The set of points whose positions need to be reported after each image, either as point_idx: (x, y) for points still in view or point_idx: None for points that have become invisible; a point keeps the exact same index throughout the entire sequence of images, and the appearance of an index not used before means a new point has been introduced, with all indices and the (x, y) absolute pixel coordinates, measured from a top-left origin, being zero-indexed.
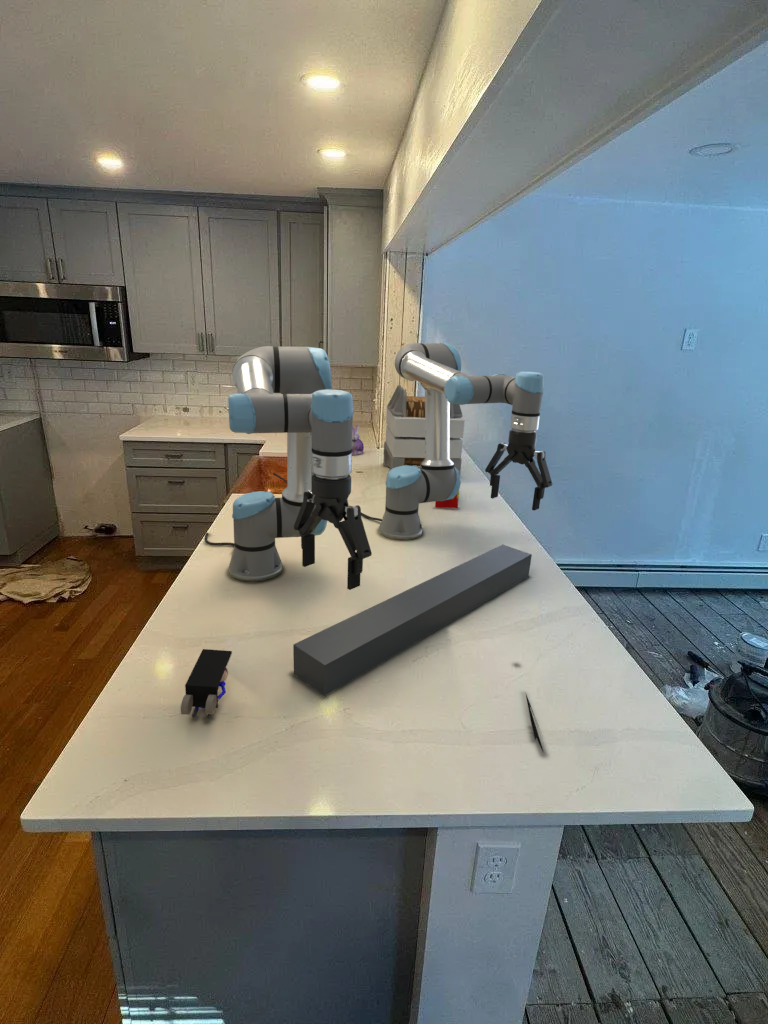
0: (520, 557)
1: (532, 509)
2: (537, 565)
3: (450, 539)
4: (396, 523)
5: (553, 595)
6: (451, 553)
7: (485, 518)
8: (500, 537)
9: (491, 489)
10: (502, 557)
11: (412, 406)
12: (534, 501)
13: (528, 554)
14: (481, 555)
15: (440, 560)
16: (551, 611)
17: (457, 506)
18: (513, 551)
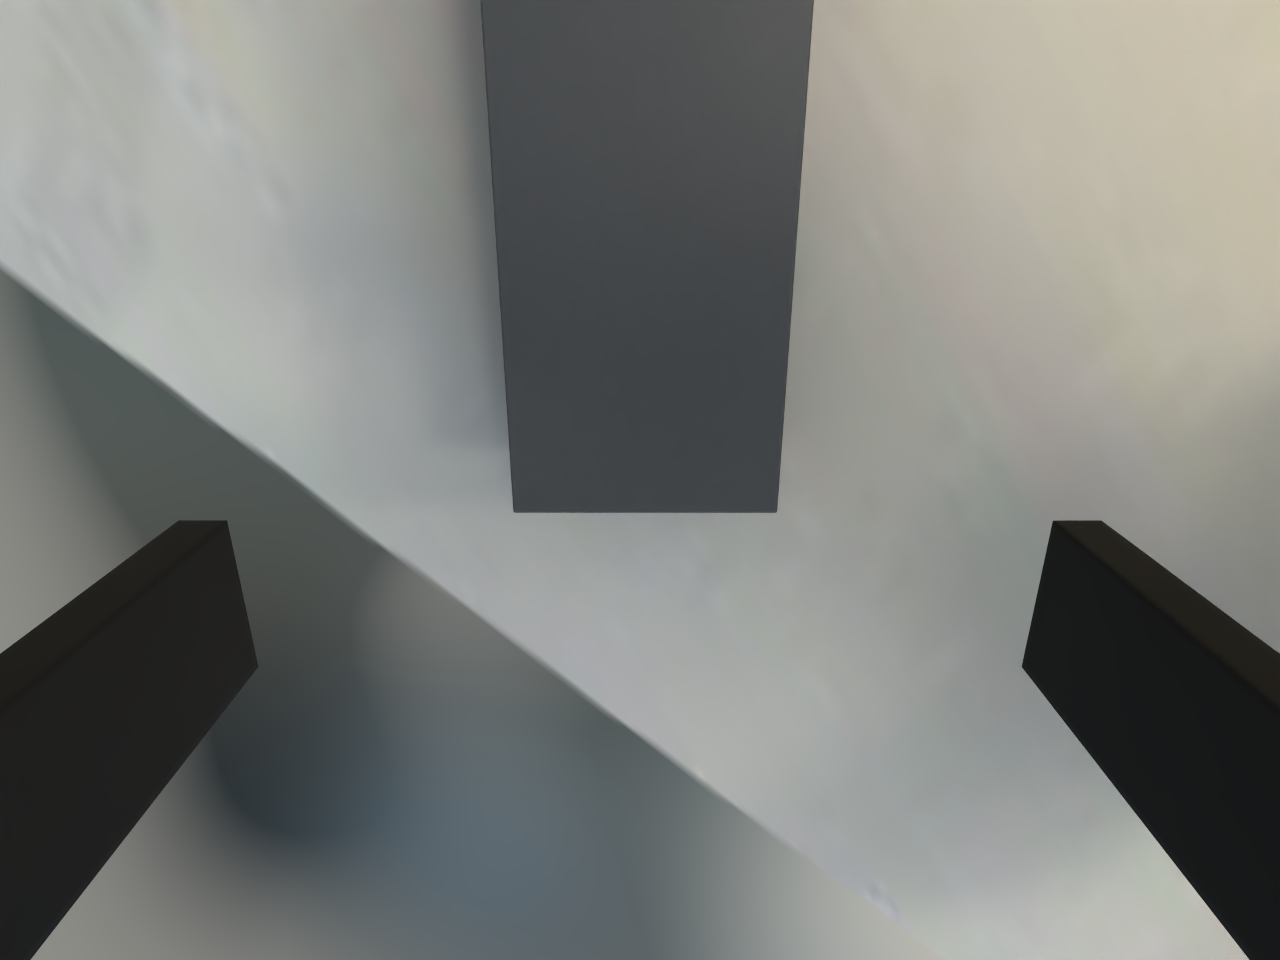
0: (535, 393)
1: (207, 523)
2: (592, 624)
3: (1220, 556)
4: None
5: (287, 338)
6: (1111, 371)
7: (1162, 947)
8: (960, 793)
9: (1215, 606)
10: (635, 278)
11: None
12: (90, 608)
13: (527, 490)
14: (788, 166)
15: (1125, 205)
16: (151, 120)
17: None
18: (640, 454)
